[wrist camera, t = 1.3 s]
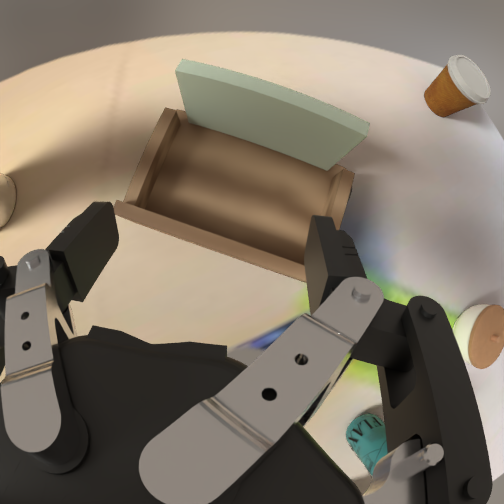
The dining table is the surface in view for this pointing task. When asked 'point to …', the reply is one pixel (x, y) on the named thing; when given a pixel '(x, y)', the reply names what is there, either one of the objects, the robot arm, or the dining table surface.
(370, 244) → the dining table surface
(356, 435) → the beverage bottle
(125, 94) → the dining table surface
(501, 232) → the dining table surface
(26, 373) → the robot arm
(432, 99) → the disposable coffee cup
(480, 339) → the lidded jar
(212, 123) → the panel
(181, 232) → the drawer box
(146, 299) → the dining table surface
